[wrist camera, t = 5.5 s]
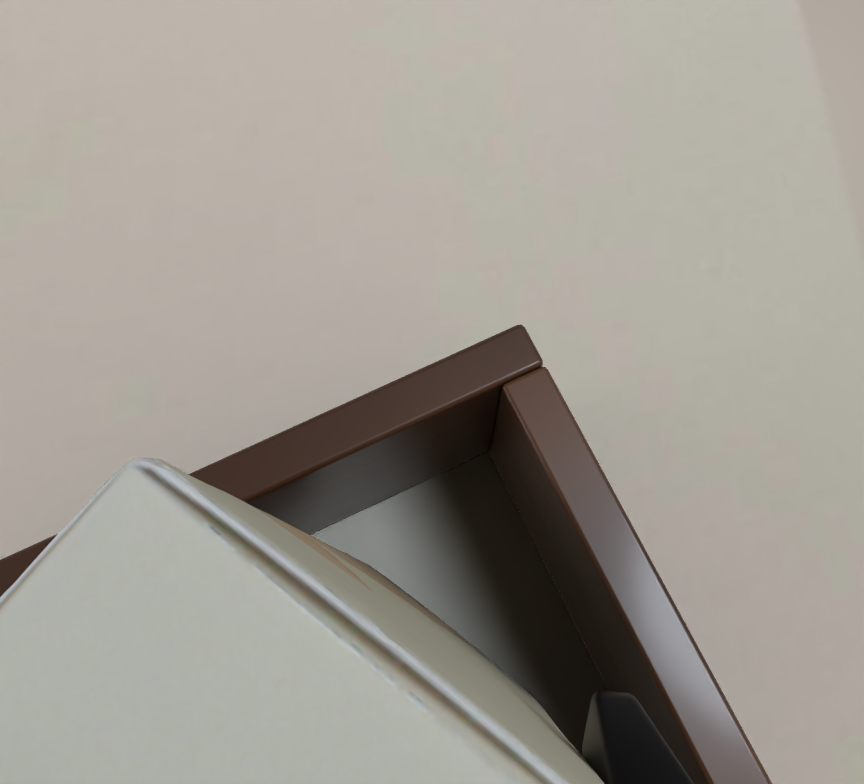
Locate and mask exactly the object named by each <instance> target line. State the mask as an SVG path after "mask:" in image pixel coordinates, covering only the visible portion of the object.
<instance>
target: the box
mask: <svg viewBox="0 0 864 784" xmlns="http://www.w3.org/2000/svg"><path fill="white" fill-rule="evenodd" d="M0 784H604V782H603V781H602V780H601V779H600V778H599V776H598V775H597V774H596V772H595V771H594V770H593V769H592V768H591V766H590V765H589V764H588V763H587V762H586V760H585V759H584V758H583V757H582V756H581V754H580V753H579V752H578V751H577V750H576V748H575V747H574V746H573V745H572V744H571V743H570V742H569V741H568V739H567V738H566V737H565V736H564V735H563V733H562V732H561V731H560V730H559V728H558V727H557V726H556V725H555V723H554V722H553V721H552V719H551V718H550V717H549V715H548V714H547V713H546V711H545V710H544V709H543V708H542V706H541V705H540V704H539V703H538V702H537V701H536V700H535V699H534V698H533V697H532V696H531V695H530V694H529V693H528V692H527V691H526V690H525V689H523V688H522V687H521V686H520V685H519V684H518V683H517V682H515V681H514V680H513V679H512V678H511V677H510V676H508V675H507V674H506V673H505V672H504V671H503V670H502V669H500V668H499V667H498V666H497V665H496V664H495V663H493V662H492V661H491V660H490V659H489V658H488V657H486V656H485V655H484V654H483V653H482V652H480V651H479V650H478V649H477V648H476V647H474V646H473V645H472V644H471V643H469V642H468V641H467V640H466V639H465V638H463V637H462V636H461V635H460V634H458V633H457V632H456V631H455V630H454V629H452V628H451V627H450V626H449V625H447V624H446V623H445V622H444V621H442V620H441V619H440V618H439V617H437V616H436V615H435V614H433V613H432V612H431V611H429V610H428V609H427V608H425V607H424V606H423V605H422V604H420V603H419V602H418V601H416V600H415V599H414V598H413V597H411V596H410V595H409V594H407V593H406V592H405V591H404V590H402V589H401V588H400V587H398V586H397V585H396V584H394V583H393V582H392V581H390V580H389V579H388V578H386V577H385V576H383V575H382V574H381V573H379V572H378V571H377V570H375V569H374V568H372V567H371V566H369V565H368V564H366V563H364V562H361V561H359V560H357V559H355V558H354V557H352V556H350V555H348V554H346V553H344V552H342V551H339V550H337V549H335V548H333V547H331V546H329V545H327V544H325V543H323V542H321V541H320V540H318V539H316V538H314V537H312V536H310V535H308V534H306V533H305V532H303V531H301V530H299V529H297V528H295V527H293V526H291V525H289V524H287V523H285V522H283V521H281V520H279V519H278V518H276V517H274V516H272V515H270V514H268V513H266V512H263V511H261V510H259V509H257V508H255V507H253V506H251V505H249V504H247V503H246V502H244V501H242V500H240V499H238V498H236V497H234V496H232V495H230V494H228V493H226V492H224V491H222V490H220V489H217V488H215V487H213V486H211V485H209V484H206V483H204V482H202V481H200V480H198V479H196V478H194V477H192V476H190V475H188V474H186V473H185V472H183V471H181V470H179V469H177V468H176V467H174V466H172V465H170V464H168V463H166V462H165V461H163V460H161V459H153V458H144V459H133V460H131V461H130V462H129V463H127V464H126V465H125V466H123V467H122V468H121V469H120V470H119V471H118V472H117V473H116V474H115V475H114V476H113V477H111V478H110V479H109V480H108V481H107V482H106V483H105V484H104V485H103V486H102V487H101V488H100V489H99V491H98V492H97V493H96V494H95V495H94V496H93V497H92V498H91V500H90V501H89V502H88V503H87V504H86V505H85V506H84V507H83V509H82V510H81V511H80V512H79V513H78V514H77V515H76V516H75V517H74V518H73V519H72V520H71V521H70V522H69V523H68V524H67V525H66V526H65V527H64V528H63V529H62V530H61V531H60V532H59V533H58V535H57V536H56V537H55V538H54V539H53V540H52V541H51V542H50V543H49V545H48V546H47V547H46V548H45V549H44V550H43V551H42V552H41V553H40V554H39V556H38V557H37V558H36V559H35V560H34V561H33V562H32V563H31V565H30V566H29V567H28V568H27V569H26V570H25V571H24V572H23V574H22V575H21V576H20V577H19V578H18V579H17V580H16V582H15V583H14V584H13V585H12V586H11V587H10V588H9V589H8V590H7V591H6V592H5V593H4V594H3V595H2V596H1V597H0Z"/></svg>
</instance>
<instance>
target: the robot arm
mask: <svg viewBox="0 0 864 784" xmlns="http://www.w3.org/2000/svg"><path fill="white" fill-rule="evenodd" d="M582 757H583V758H584V759H585V760H586V762H587V763H588V764H589V765H590V766H591V768H592V769H593V770H594V771H595V772H596V774H597V775H598V776H599V778H600V779H601V780H602V781H603V782H604V784H694V783H693V781H692V780H691V778H690V777H689V776H688V774H687V773H686V771H685V770H684V768H683V767H682V765H681V764H680V762H679V761H678V759H677V758H676V756H675V755H674V753H673V752H672V750H671V749H670V747H669V746H668V744H667V743H666V741H665V740H664V738H663V737H662V736H661V734H660V733H659V731H658V730H657V728H656V727H655V725H654V724H653V722H652V721H651V719H650V718H649V716H648V715H647V713H646V712H645V710H644V709H643V707H642V706H641V704H640V703H639V701H638V700H637V699H636V698H635V697H634V696H633V695H631V694H630V693H625V692H614V691H604V690H599V691H596V692H594V694H593V696H592V698H591V703H590V708H589V713H588V718H587V723H586V728H585V734H584V739H583V746H582Z"/></svg>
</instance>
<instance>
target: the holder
mask: <svg viewBox="0 0 864 784" xmlns="http://www.w3.org/2000/svg"><path fill="white" fill-rule="evenodd" d="M542 365H543V361H542V358H541V356H540V355H539V353H538V351H537V349H536V347H535V345H534V344H533V342H532V340H531V338H530V336H529V334H528V332H527V331H526V329H525V327H523V326H522V325H516V326H514V327H512V328H510V329H507V330H505V331H503V332H501V333H499V334H496V335H494V336H492V337H490V338H488V339H485V340H483V341H481V342H479V343H477V344H474V345H472V346H470V347H468V348H466V349H463V350H461V351H459V352H457V353H455V354H452V355H450V356H448V357H446V358H444V359H441V360H439V361H437V362H435V363H433V364H430V365H428V366H426V367H424V368H422V369H419V370H417V371H415V372H413V373H411V374H408V375H406V376H404V377H402V378H400V379H397V380H395V381H393V382H391V383H389V384H386V385H384V386H382V387H380V388H378V389H375V390H373V391H371V392H369V393H367V394H364V395H362V396H360V397H358V398H356V399H353V400H351V401H349V402H347V403H345V404H342V405H340V406H338V407H336V408H334V409H331V410H329V411H327V412H325V413H323V414H320V415H318V416H316V417H314V418H312V419H309V420H307V421H305V422H303V423H301V424H298V425H296V426H294V427H292V428H290V429H287V430H285V431H283V432H281V433H279V434H276V435H274V436H272V437H270V438H268V439H265V440H263V441H261V442H259V443H257V444H254V445H252V446H250V447H248V448H246V449H243V450H241V451H239V452H237V453H235V454H232V455H230V456H228V457H226V458H224V459H221V460H219V461H217V462H215V463H213V464H210V465H208V466H206V467H204V468H202V469H199V470H197V471H195V472H193V473H191V474H188V475H190V476H192V477H194V478H196V479H198V480H200V481H202V482H204V483H206V484H209V485H211V486H213V487H215V488H217V489H220V490H222V491H224V492H226V493H228V494H230V495H232V496H234V497H236V498H238V499H240V500H242V501H244V502H246V503H247V504H249V505H251V506H253V507H255V508H257V509H259V510H261V511H263V512H266V513H268V514H270V515H272V516H274V517H276V518H278V519H279V520H281V521H283V522H285V523H287V524H289V525H291V526H293V527H295V528H297V529H299V530H301V531H303V532H305V533H306V534H308V535H310V534H312V533H314V532H317V531H319V530H321V529H323V528H325V527H327V526H329V525H331V524H334V523H336V522H338V521H340V520H342V519H344V518H346V517H348V516H351V515H353V514H355V513H357V512H359V511H361V510H363V509H366V508H368V507H370V506H372V505H374V504H376V503H378V502H380V501H383V500H385V499H387V498H389V497H391V496H393V495H395V494H397V493H400V492H402V491H404V490H406V489H408V488H410V487H412V486H414V485H417V484H419V483H421V482H423V481H425V480H427V479H429V478H432V477H434V476H436V475H438V474H440V473H442V472H444V471H446V470H449V469H451V468H453V467H455V466H457V465H459V464H461V463H463V462H466V461H468V460H470V459H472V458H474V457H476V456H478V455H481V454H483V453H485V452H487V451H489V450H490V455H491V457H492V459H493V461H494V463H495V465H496V467H497V469H498V471H499V473H500V475H501V477H502V479H503V481H504V483H505V485H506V487H507V489H508V491H509V493H510V495H511V497H512V499H513V501H514V503H515V505H516V507H517V509H518V511H519V513H520V515H521V517H522V519H523V521H524V523H525V525H526V527H527V529H528V531H529V533H530V535H531V537H532V539H533V541H534V543H535V545H536V547H537V549H538V551H539V553H540V555H541V557H542V559H543V561H544V563H545V565H546V567H547V569H548V571H549V573H550V575H551V577H552V579H553V581H554V583H555V585H556V587H557V589H558V591H559V593H560V595H561V597H562V599H563V601H564V603H565V605H566V607H567V609H568V611H569V613H570V615H571V617H572V619H573V621H574V623H575V625H576V627H577V629H578V631H579V633H580V635H581V637H582V639H583V641H584V643H585V645H586V647H587V649H588V651H589V653H590V655H591V657H592V659H593V661H594V663H595V665H596V667H597V669H598V671H599V673H600V675H601V677H602V679H603V681H604V683H605V685H606V687H607V689H608V691H614V692H625V693H630V694H631V695H633V696H634V697H635V698H636V699H637V700H638V701H639V703H640V704H641V706H642V707H643V709H644V710H645V712H646V713H647V715H648V716H649V718H650V719H651V721H652V722H653V724H654V725H655V727H656V728H657V730H658V731H659V733H660V734H661V736H662V737H663V738H664V740H665V741H666V743H667V744H668V746H669V747H670V749H671V750H672V752H673V753H674V755H675V756H676V758H677V759H678V761H679V762H680V764H681V765H682V767H683V768H684V770H685V771H686V773H687V774H688V776H689V777H690V778H691V780H692V781H693V783H694V784H772V783H771V781H770V779H769V777H768V775H767V773H766V772H765V770H764V768H763V766H762V764H761V762H760V760H759V759H758V757H757V755H756V753H755V751H754V749H753V748H752V746H751V744H750V742H749V740H748V738H747V736H746V735H745V733H744V731H743V729H742V727H741V725H740V724H739V722H738V720H737V718H736V716H735V714H734V712H733V711H732V709H731V707H730V705H729V703H728V701H727V700H726V698H725V696H724V694H723V692H722V690H721V688H720V687H719V685H718V683H717V681H716V679H715V677H714V676H713V674H712V672H711V670H710V668H709V666H708V664H707V663H706V661H705V659H704V657H703V655H702V653H701V652H700V650H699V648H698V646H697V644H696V642H695V640H694V639H693V637H692V635H691V633H690V631H689V629H688V628H687V626H686V624H685V622H684V620H683V618H682V616H681V615H680V613H679V611H678V609H677V607H676V605H675V604H674V602H673V600H672V598H671V596H670V594H669V592H668V591H667V589H666V587H665V585H664V583H663V581H662V580H661V578H660V576H659V574H658V572H657V570H656V568H655V567H654V565H653V563H652V561H651V559H650V557H649V556H648V554H647V552H646V550H645V548H644V546H643V544H642V543H641V541H640V539H639V537H638V535H637V533H636V532H635V530H634V528H633V526H632V524H631V522H630V520H629V519H628V517H627V515H626V513H625V511H624V509H623V508H622V506H621V504H620V502H619V500H618V498H617V496H616V495H615V493H614V491H613V489H612V487H611V485H610V484H609V482H608V480H607V478H606V476H605V474H604V472H603V471H602V469H601V467H600V465H599V463H598V461H597V459H596V458H595V456H594V454H593V452H592V450H591V448H590V447H589V445H588V443H587V441H586V439H585V437H584V435H583V434H582V432H581V430H580V428H579V426H578V424H577V423H576V421H575V419H574V417H573V415H572V413H571V411H570V410H569V408H568V406H567V404H566V402H565V400H564V399H563V397H562V395H561V393H560V391H559V389H558V387H557V386H556V384H555V382H554V380H553V378H552V376H551V375H550V373H549V371H548V369H546V368H545V367H542ZM57 535H58V534H56V535H54V536H52V537H50V538H47V539H45V540H43V541H41V542H39V543H36V544H34V545H32V546H30V547H28V548H25V549H23V550H21V551H19V552H17V553H14V554H12V555H10V556H8V557H6V558H3V559H1V560H0V597H1V596H2V595H3V594H4V593H5V592H6V591H7V590H8V589H9V588H10V587H11V586H12V585H13V584H14V583H15V582H16V580H17V579H18V578H19V577H20V576H21V575H22V574H23V572H24V571H25V570H26V569H27V568H28V567H29V566H30V565H31V563H32V562H33V561H34V560H35V559H36V558H37V557H38V556H39V554H40V553H41V552H42V551H43V550H44V549H45V548H46V547H47V546H48V545H49V543H50V542H51V541H52V540H53V539H54V538H55V537H56V536H57Z"/></svg>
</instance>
